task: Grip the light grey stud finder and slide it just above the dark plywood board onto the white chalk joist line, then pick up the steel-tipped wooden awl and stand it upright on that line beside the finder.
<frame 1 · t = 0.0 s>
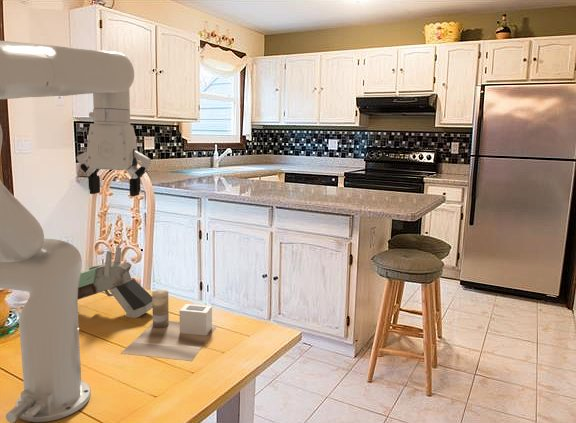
hand: (114, 194, 101), 37 cm above the table, tool pointing down, fingers open, 9 cm apart
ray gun: (96, 314, 125), on the table
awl: (160, 325, 116), point 1 cm above the table, touching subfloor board
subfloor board: (172, 342, 109), on the table
stud finder: (196, 330, 114), point 1 cm above the table, touching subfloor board
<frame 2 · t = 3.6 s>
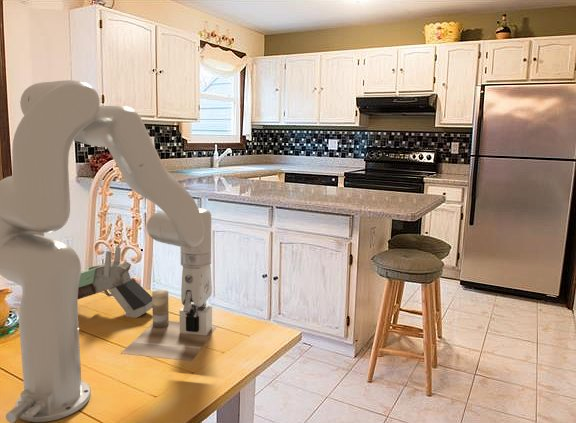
hand: (196, 326, 114), 2 cm above the table, tool pointing down, fingers closed on stud finder, 4 cm apart
stud finder: (196, 330, 114), point 1 cm above the table, touching gripper, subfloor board
everything else where it was.
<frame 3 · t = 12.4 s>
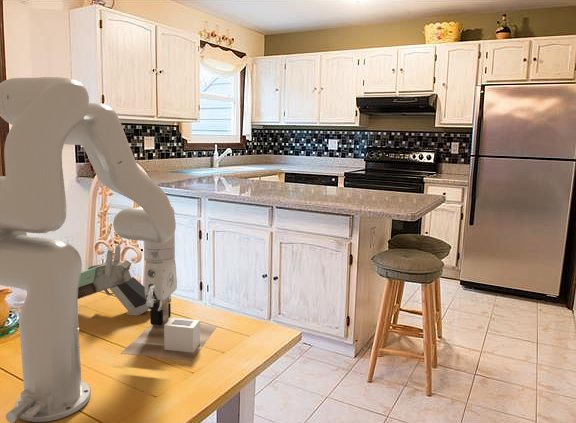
hand: (160, 320, 116), 3 cm above the table, tool pointing down, fingers closed on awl, 4 cm apart
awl: (160, 325, 116), point 1 cm above the table, touching gripper, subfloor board
stud finder: (182, 346, 105), point 1 cm above the table, touching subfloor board
when the fingers open (4 cm above the table, at t = 17.6 s): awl stays where it is, resting on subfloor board.
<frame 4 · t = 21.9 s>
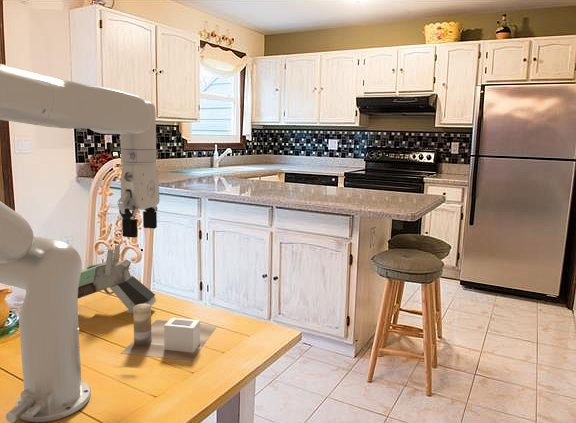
hand: (140, 232, 102), 28 cm above the table, tool pointing down, fingers open, 9 cm apart
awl: (142, 342, 106), point 1 cm above the table, touching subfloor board
at the end: stud finder 0.1 cm from the target spot on the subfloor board, point 1.2 cm above the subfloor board's base; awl 0.1 cm from the target spot on the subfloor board, point 1.2 cm above the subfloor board's base; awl tilted 0° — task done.
